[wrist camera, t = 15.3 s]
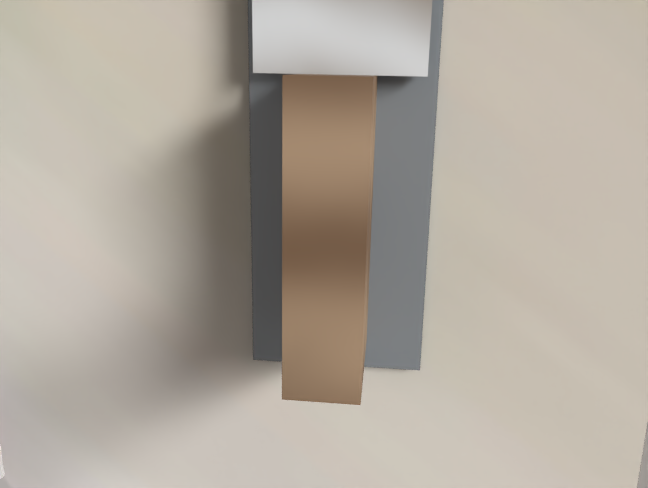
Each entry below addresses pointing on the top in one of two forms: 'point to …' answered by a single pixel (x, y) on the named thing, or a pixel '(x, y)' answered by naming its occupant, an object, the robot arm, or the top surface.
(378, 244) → the tool mat
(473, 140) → the top surface
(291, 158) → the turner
